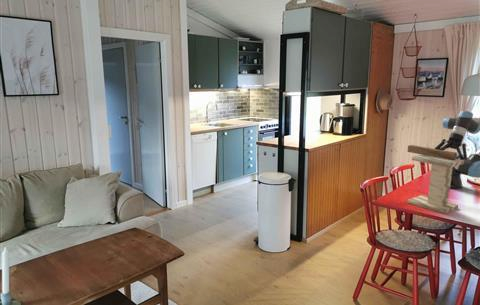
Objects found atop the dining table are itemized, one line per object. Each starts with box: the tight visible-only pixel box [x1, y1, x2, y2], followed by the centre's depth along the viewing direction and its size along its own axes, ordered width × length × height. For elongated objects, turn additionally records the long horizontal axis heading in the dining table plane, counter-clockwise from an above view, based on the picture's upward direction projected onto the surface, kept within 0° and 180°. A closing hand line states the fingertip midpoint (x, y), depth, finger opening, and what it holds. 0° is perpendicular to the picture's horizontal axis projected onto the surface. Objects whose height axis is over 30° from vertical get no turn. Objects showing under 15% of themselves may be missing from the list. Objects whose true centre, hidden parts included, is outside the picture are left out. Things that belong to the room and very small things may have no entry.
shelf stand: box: [407, 154, 464, 215], centre depth 215 cm, size 16×22×29 cm
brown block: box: [406, 144, 458, 160], centre depth 220 cm, size 4×28×4 cm, turn 34°
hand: (444, 165), depth 229 cm, fingers open, 13 cm apart
